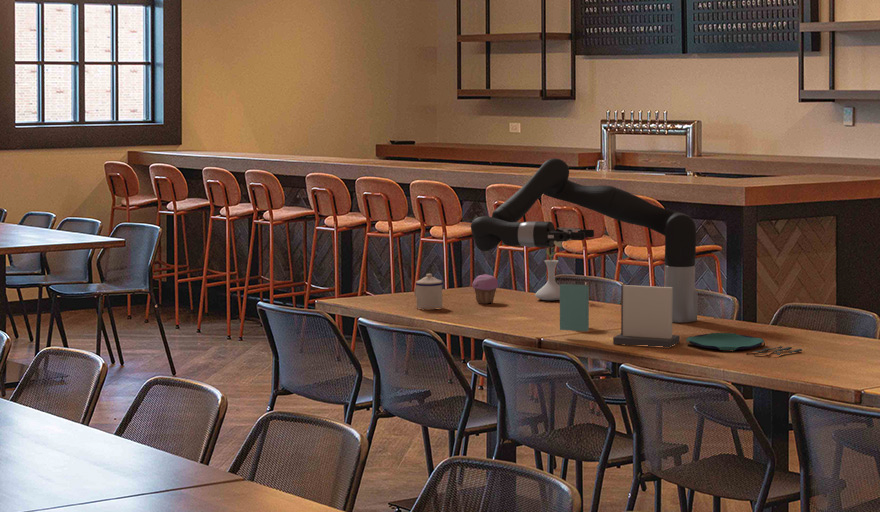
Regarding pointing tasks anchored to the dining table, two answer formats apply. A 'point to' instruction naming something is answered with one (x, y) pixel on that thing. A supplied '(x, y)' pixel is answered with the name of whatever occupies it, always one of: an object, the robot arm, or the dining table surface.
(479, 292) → the cupcake
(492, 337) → the dining table surface
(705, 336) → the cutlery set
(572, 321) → the teal flat panel
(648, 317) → the ticket stand
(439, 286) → the teacup with lid
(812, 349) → the dining table surface
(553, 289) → the flower in vase
